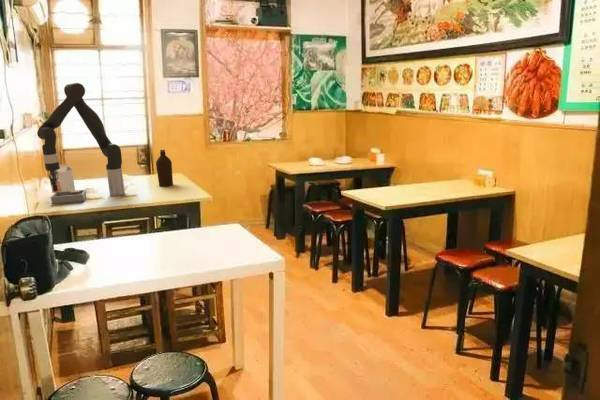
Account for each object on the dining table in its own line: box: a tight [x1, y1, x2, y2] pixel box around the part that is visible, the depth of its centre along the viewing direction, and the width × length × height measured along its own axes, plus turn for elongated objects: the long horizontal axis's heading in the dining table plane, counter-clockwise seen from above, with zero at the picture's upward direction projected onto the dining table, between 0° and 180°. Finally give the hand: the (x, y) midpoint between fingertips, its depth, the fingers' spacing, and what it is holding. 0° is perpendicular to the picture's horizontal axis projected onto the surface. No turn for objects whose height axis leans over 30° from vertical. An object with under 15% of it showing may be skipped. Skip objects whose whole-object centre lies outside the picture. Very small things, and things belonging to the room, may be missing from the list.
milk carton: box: [57, 164, 76, 192], centre depth 332 cm, size 7×7×19 cm
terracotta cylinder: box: [49, 179, 61, 194], centre depth 290 cm, size 5×5×7 cm
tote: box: [50, 189, 87, 205], centre depth 308 cm, size 18×14×5 cm
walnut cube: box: [70, 189, 81, 195], centre depth 309 cm, size 5×5×5 cm
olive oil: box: [155, 149, 174, 188], centre depth 341 cm, size 11×11×25 cm
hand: (56, 190), depth 290 cm, fingers closed on terracotta cylinder, 5 cm apart
